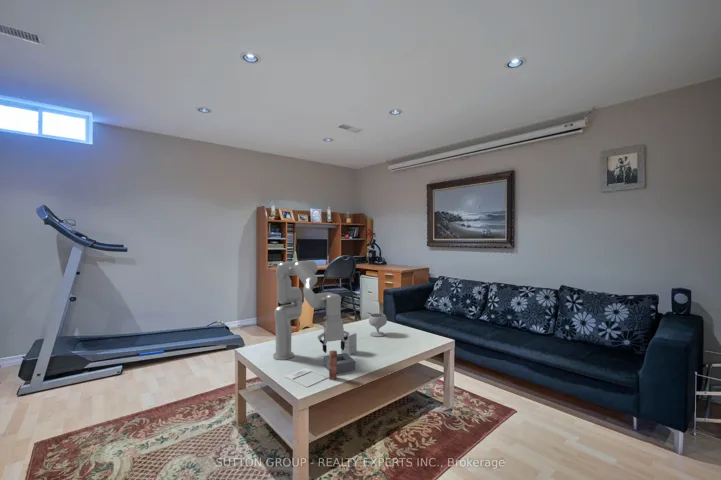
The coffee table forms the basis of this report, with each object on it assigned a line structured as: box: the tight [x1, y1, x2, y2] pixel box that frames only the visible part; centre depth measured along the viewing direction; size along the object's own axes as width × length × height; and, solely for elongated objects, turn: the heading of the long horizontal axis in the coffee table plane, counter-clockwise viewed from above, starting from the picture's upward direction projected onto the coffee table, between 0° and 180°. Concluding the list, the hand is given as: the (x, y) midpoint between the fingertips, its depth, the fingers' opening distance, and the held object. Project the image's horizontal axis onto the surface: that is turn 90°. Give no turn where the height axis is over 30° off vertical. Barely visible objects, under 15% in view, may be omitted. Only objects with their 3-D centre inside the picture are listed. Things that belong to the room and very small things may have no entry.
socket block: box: [323, 353, 356, 374], centre depth 180 cm, size 14×14×5 cm
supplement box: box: [340, 330, 358, 356], centre depth 204 cm, size 7×7×13 cm
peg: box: [328, 350, 338, 381], centre depth 166 cm, size 4×4×14 cm
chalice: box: [368, 313, 388, 338], centre depth 243 cm, size 14×14×15 cm
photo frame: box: [284, 367, 329, 388], centre depth 167 cm, size 15×1×18 cm
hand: (333, 350), depth 166 cm, fingers open, 9 cm apart
